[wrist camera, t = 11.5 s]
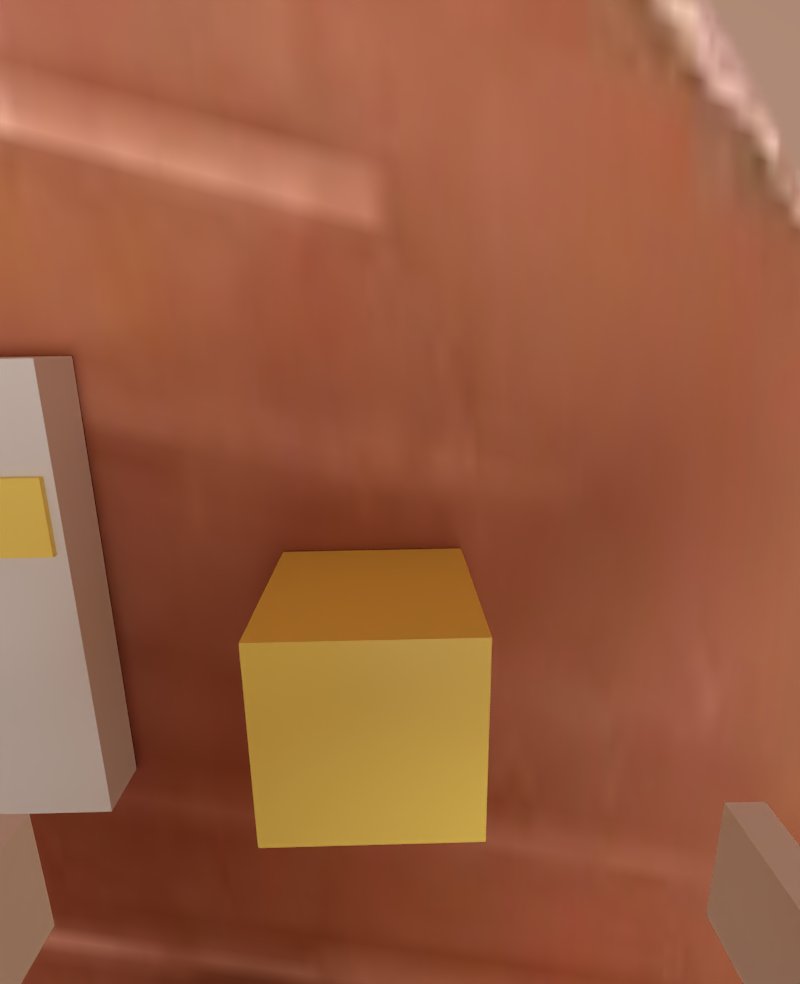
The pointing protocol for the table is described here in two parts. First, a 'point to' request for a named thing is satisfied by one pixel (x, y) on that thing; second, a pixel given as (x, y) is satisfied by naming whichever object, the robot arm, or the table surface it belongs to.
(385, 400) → the table surface
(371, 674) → the cap
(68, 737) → the breaker board
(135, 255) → the table surface
